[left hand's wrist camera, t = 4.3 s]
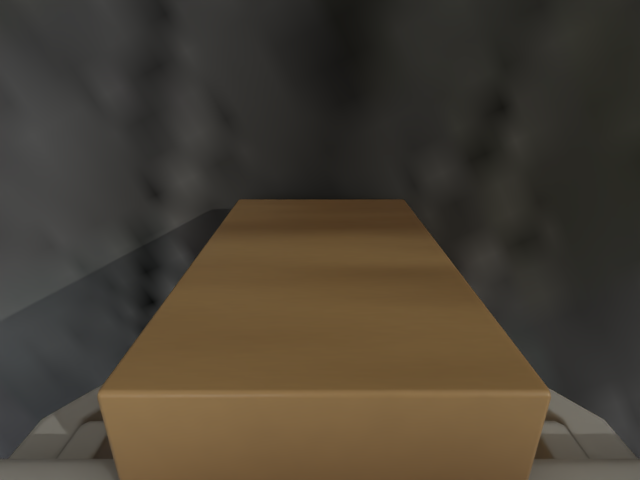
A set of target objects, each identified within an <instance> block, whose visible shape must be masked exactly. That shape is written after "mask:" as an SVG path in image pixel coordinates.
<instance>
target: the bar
mask: <svg viewBox="0 0 640 480" xmlns="http://www.w3.org/2000/svg"><path fill="white" fill-rule="evenodd" d="M97 399H98V403H99V406H100V410H101V414H102V418H103V421H104V425H105V429H106V433H107V436H108V440H109V444H110V448H111V451H112V455H113V459H114V462H115V466H116V470H117V474H118V477H119V480H528V479H529V475H530V472H531V468H532V465H533V461H534V457H535V454H536V450H537V447H538V443H539V439H540V436H541V432H542V428H543V425H544V421H545V418H546V414H547V410H548V407H549V403H550V400H551V393H550V390H549V389H548V387H547V386H546V385H545V384H544V382H543V381H542V380H541V378H540V377H539V376H538V374H537V373H536V372H535V370H534V369H533V368H532V367H531V365H530V364H529V363H528V361H527V360H526V359H525V357H524V356H523V355H522V353H521V352H520V351H519V350H518V348H517V347H516V346H515V344H514V343H513V342H512V340H511V339H510V338H509V336H508V335H507V334H506V333H505V331H504V330H503V329H502V327H501V326H500V325H499V323H498V322H497V321H496V319H495V318H494V317H493V316H492V314H491V313H490V312H489V310H488V309H487V308H486V306H485V305H484V304H483V302H482V301H481V300H480V299H479V297H478V296H477V295H476V293H475V292H474V291H473V289H472V288H471V287H470V285H469V284H468V283H467V282H466V280H465V279H464V278H463V276H462V275H461V274H460V272H459V271H458V270H457V268H456V267H455V266H454V265H453V263H452V262H451V261H450V259H449V258H448V257H447V255H446V254H445V253H444V251H443V250H442V249H441V248H440V246H439V245H438V244H437V242H436V241H435V240H434V238H433V237H432V236H431V234H430V233H429V232H428V231H427V229H426V228H425V227H424V225H423V224H422V223H421V221H420V220H419V219H418V217H417V216H416V215H415V213H414V212H413V211H412V210H411V208H410V207H409V206H408V204H407V203H406V202H405V200H403V199H355V200H238V201H237V203H236V204H235V206H234V207H233V208H232V210H231V211H230V212H229V214H228V215H227V216H226V218H225V219H224V220H223V222H222V223H221V225H220V226H219V227H218V229H217V230H216V231H215V233H214V234H213V235H212V237H211V238H210V240H209V241H208V242H207V244H206V245H205V246H204V248H203V249H202V250H201V252H200V253H199V255H198V256H197V257H196V259H195V260H194V261H193V263H192V264H191V265H190V267H189V268H188V270H187V271H186V272H185V274H184V275H183V276H182V278H181V279H180V280H179V282H178V283H177V285H176V286H175V287H174V289H173V290H172V291H171V293H170V294H169V295H168V297H167V298H166V299H165V301H164V302H163V304H162V305H161V306H160V308H159V309H158V310H157V312H156V313H155V314H154V316H153V317H152V319H151V320H150V321H149V323H148V324H147V325H146V327H145V328H144V329H143V331H142V332H141V334H140V335H139V336H138V338H137V339H136V340H135V342H134V343H133V344H132V346H131V347H130V349H129V350H128V351H127V353H126V354H125V355H124V357H123V358H122V359H121V361H120V362H119V364H118V365H117V366H116V368H115V369H114V370H113V372H112V373H111V374H110V376H109V377H108V378H107V380H106V381H105V383H104V384H103V385H102V387H101V388H100V389H99V391H98V396H97Z"/></svg>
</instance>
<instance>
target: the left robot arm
mask: <svg viewBox="0 0 640 480" xmlns="http://www.w3.org/2000/svg"><path fill="white" fill-rule="evenodd" d="M102 385H103V384H102ZM102 385H101V386H99V387H97V388H95V389H94V390H92V391H90V392H88V393H87V394H85V395H83V396H81V397H80V398H78V399H76V400H74V401H73V402H71V403H69V404H67V405H66V406H64V407H62V408H60V409H59V410H57V411H55V412H53V413H52V414H50V415H48V416H46V417H45V418H43V419H41V421H40V422H39V423H38V424H37V425H36V426H35V428H34V429H33V430H32V431H31V432H30V433H29V435H28V436H27V437H26V438H25V439H24V441H23V442H22V443H21V444H20V445H19V446H18V448H17V449H16V450H15V451H14V452H13V454H12V455H11V456H10V457H9V458H8V459H0V480H119V477H118V474H117V470H116V466H115V462H114V459H113V455H112V451H111V448H110V444H109V440H108V436H107V433H106V429H105V425H104V421H103V418H102V414H101V410H100V406H99V403H98V399H97V396H98V391H99V389H100V388H101V387H102ZM548 389H549V388H548ZM549 390H550V393H551V400H550V403H549V407H548V410H547V414H546V418H545V421H544V425H543V428H542V432H541V436H540V439H539V443H538V447H537V450H536V454H535V457H534V461H533V465H532V468H531V472H530V475H529V479H528V480H640V459H637V457H636V456H635V455H634V454H633V453H632V452H631V450H630V449H629V448H628V447H627V446H626V445H625V443H624V442H623V441H622V440H621V439H620V438H619V437H618V435H617V434H616V433H615V432H614V431H613V430H612V428H611V427H610V426H609V425H608V424H607V423H606V421H605V420H604V419H602V418H600V417H598V416H597V415H595V414H593V413H591V412H589V411H588V410H586V409H584V408H582V407H581V406H579V405H577V404H575V403H574V402H572V401H570V400H568V399H567V398H565V397H563V396H561V395H560V394H558V393H556V392H554V391H553V390H551V389H549Z"/></svg>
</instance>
